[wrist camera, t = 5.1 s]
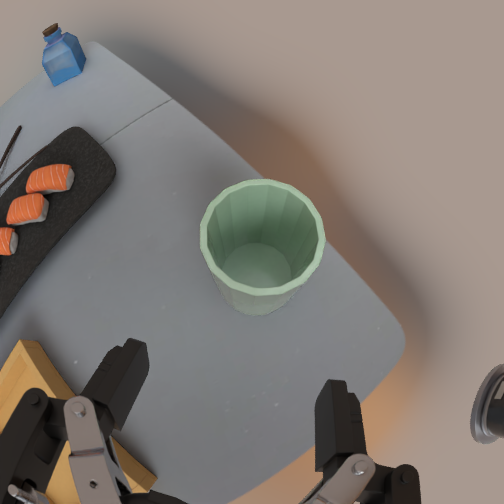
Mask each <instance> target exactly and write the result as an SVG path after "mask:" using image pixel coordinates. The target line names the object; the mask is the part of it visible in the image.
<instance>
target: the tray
mask: <svg viewBox="0 0 504 504" xmlns="http://www.w3.org/2000/svg"><path fill="white" fill-rule="evenodd" d="M30 388H40V389H42V390H43V391H45V393H46V394H47V396H48V397H52V398H58V399H63V400H68V399H70V398H71V397H74V396H75V394H74V393H73V392H72V390H71V389H70V388H69V386H68V385H67V384H66V382H65V381H64V380H63V378H62V377H61V376H60V374H59V373H58V371H57V370H56V368H55V367H54V366H53V364H52V363H51V361H50V360H49V358H48V357H47V355H46V353H45V352H44V350H43V349H42V347H41V345H40V344H39V342H38V341H30V340H22V339H19V341H18V343H17V344H16V346H15V347H14V349H13V351H12V352H11V354H10V355H9V357H8V359H7V360H6V362H5V364H4V366H3V367H2V369H1V371H0V434H1V433H2V431H3V429H4V427H5V425H6V423H7V422H8V420H9V418H10V416H11V414H12V413H13V411H14V409H15V408H16V406H17V404H18V403H19V401H20V399H21V398H22V396H23V394H24V393H25V392H26V391H27V390H28V389H30ZM111 439H112V442H113V445H114V448H115V451H116V454H117V457H118V460H119V463H120V466H121V468H122V471H123V473H124V474H125V476H126V478H127V480H128V482H129V485H130V487H131V490H132V492H133V493H147V492H148V491H149V489H150V488H151V487H152V485H153V484H154V483H155V481H156V480H157V477H156V476H154V475H153V474H152V473H151V472H149V471H148V470H147V469H146V468H145V467H144V466H142V465H141V464H140V463H139V462H138V461H137V460H136V459H134V458H133V457H132V456H131V455H130V454H129V453H128V452H127V451H126V450H125V449H124V448H123V447H122V446H121V445H120V444H119V443H118V442H117V441H116V440H115V439H114V438H113V437H112V436H111ZM69 454H71V449H70V445H69V441H66V443H65V446H64V448H63V450H62V453H61V455H60V457H59V460H58V462H57V464H56V467H55V469H54V472H53V474H52V477H51V479H50V482H49V484H48V487H47V489H46V492H45V496H46V497H47V499H48V501H49V504H81V503H80V500H79V497H78V493H77V490H76V487H75V484H74V480H73V476H72V473H71V469H70V465H69V460H68V456H69Z"/></svg>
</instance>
